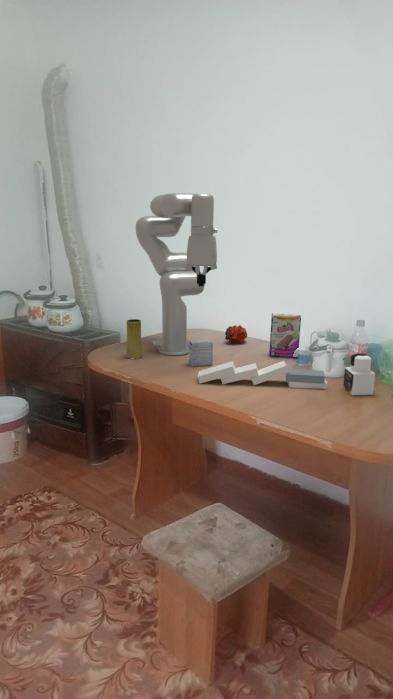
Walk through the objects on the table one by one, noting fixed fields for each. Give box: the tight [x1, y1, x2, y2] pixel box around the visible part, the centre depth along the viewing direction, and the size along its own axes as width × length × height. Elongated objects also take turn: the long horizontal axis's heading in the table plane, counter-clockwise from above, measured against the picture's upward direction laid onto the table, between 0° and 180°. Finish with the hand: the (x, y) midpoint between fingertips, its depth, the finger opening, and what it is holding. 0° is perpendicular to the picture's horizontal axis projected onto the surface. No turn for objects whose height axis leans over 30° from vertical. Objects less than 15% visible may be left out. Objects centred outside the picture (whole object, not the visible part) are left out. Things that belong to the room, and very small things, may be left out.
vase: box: [125, 318, 143, 359], centre depth 196 cm, size 6×6×14 cm
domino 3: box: [250, 360, 289, 386], centre depth 169 cm, size 2×6×12 cm
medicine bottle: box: [343, 352, 376, 396], centre depth 161 cm, size 7×7×12 cm
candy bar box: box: [268, 312, 302, 358], centre depth 199 cm, size 11×5×16 cm, turn 84°
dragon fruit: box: [224, 325, 248, 345], centre depth 220 cm, size 8×8×12 cm
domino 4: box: [285, 368, 326, 384], centre depth 167 cm, size 2×6×12 cm
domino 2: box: [220, 362, 259, 385], centre depth 170 cm, size 2×6×12 cm
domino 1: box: [197, 360, 236, 384], centre depth 170 cm, size 2×6×12 cm
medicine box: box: [188, 339, 214, 368], centre depth 188 cm, size 8×4×9 cm, turn 107°
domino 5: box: [287, 379, 328, 390], centre depth 168 cm, size 2×6×12 cm
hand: (201, 285), depth 180 cm, fingers closed
